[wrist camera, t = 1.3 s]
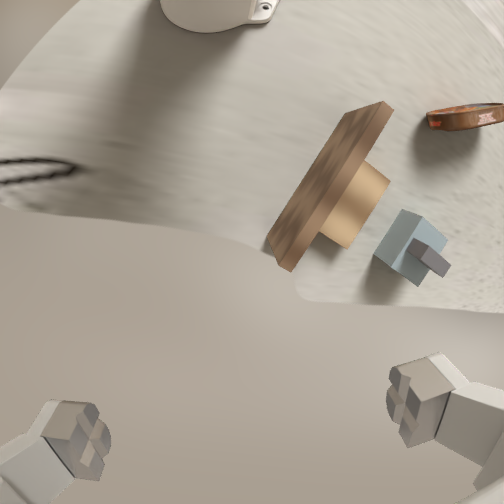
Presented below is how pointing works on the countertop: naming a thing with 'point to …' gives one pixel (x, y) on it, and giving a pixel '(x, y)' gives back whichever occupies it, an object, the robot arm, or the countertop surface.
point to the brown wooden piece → (334, 188)
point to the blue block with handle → (413, 248)
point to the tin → (466, 116)
